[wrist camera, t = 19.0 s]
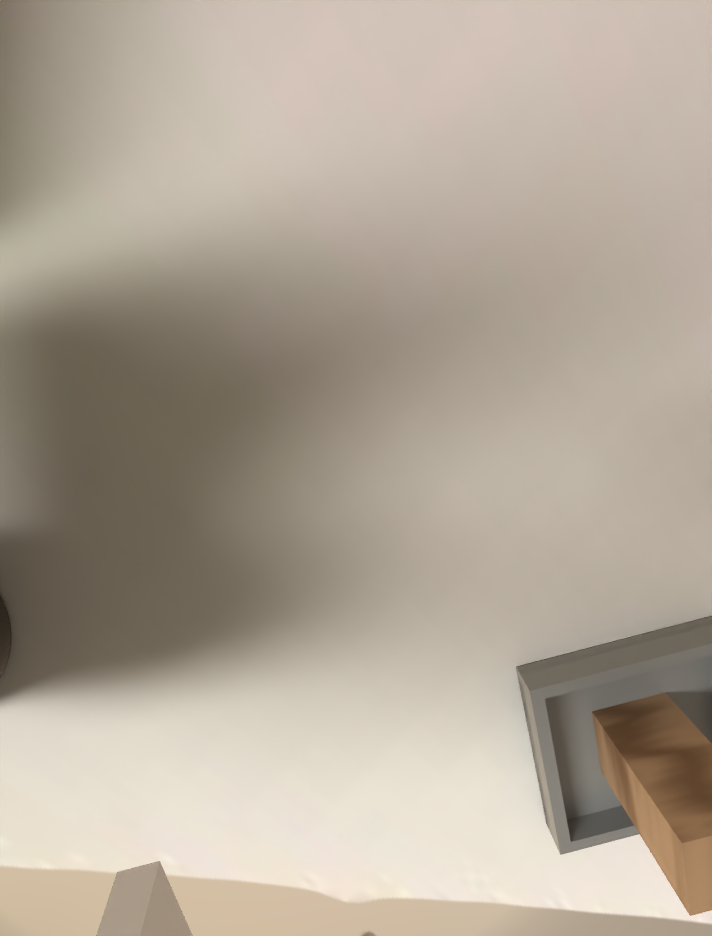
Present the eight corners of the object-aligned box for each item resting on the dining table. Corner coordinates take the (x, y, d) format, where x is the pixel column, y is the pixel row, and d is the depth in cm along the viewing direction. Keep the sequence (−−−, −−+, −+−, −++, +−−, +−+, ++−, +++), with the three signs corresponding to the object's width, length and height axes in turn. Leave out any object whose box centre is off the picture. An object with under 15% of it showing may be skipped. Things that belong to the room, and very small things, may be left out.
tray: (546, 823, 52) (560, 854, 49) (516, 667, 47) (529, 691, 44) (727, 776, 52) (751, 804, 49) (714, 615, 47) (740, 636, 45)
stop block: (601, 771, 50) (690, 915, 38) (591, 711, 48) (681, 843, 36) (672, 753, 50) (782, 891, 38) (665, 692, 48) (778, 818, 36)
